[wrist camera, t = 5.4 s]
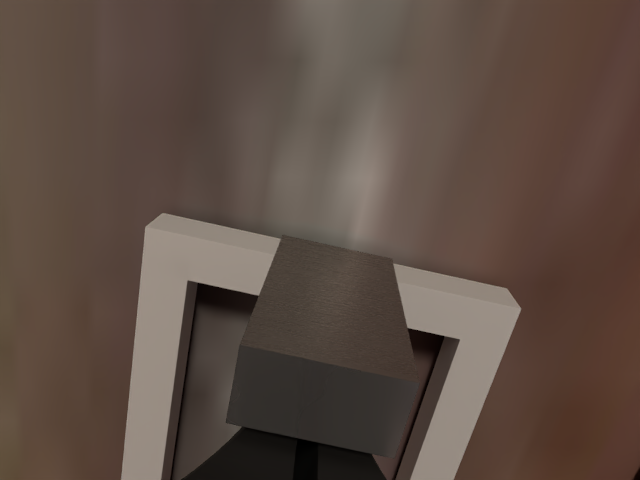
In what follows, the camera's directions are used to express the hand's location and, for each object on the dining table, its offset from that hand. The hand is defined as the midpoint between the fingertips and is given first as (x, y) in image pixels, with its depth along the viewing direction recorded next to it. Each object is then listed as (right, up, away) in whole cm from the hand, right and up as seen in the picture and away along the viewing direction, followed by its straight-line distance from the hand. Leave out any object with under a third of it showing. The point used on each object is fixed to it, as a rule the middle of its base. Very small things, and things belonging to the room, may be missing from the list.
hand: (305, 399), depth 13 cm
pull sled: (-1, -3, +3) cm, 4 cm away
